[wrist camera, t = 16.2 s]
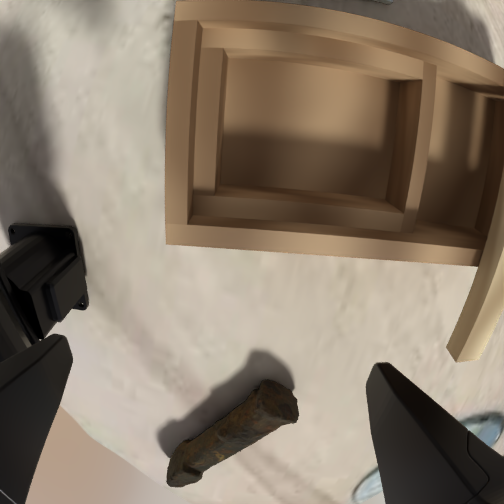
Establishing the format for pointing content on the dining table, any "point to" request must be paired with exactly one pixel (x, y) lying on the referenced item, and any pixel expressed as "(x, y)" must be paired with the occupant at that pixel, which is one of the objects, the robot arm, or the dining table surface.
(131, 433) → the dining table surface
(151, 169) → the dining table surface
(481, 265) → the wooden bar
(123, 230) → the dining table surface
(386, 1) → the lid
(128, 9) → the dining table surface
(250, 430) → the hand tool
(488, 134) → the toolbox
